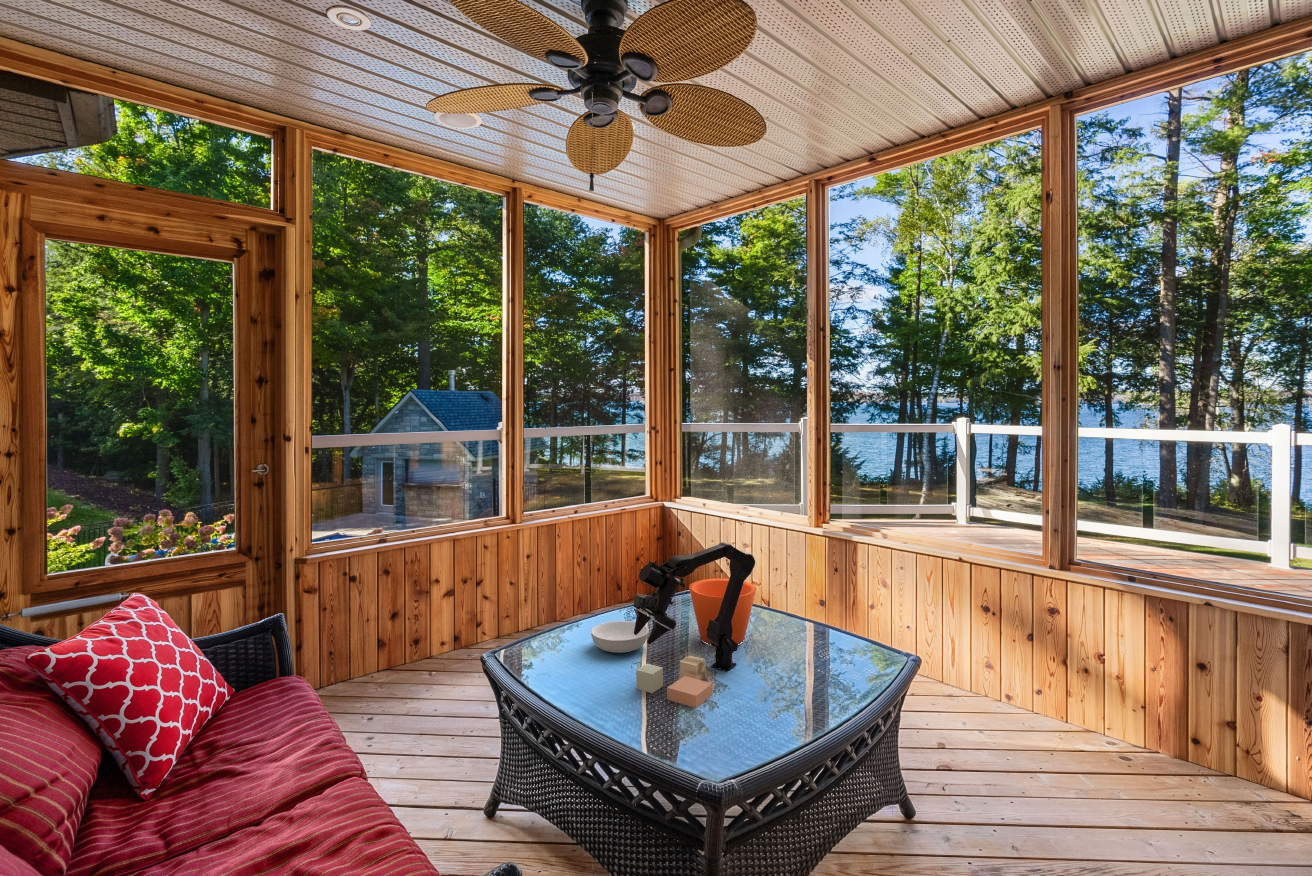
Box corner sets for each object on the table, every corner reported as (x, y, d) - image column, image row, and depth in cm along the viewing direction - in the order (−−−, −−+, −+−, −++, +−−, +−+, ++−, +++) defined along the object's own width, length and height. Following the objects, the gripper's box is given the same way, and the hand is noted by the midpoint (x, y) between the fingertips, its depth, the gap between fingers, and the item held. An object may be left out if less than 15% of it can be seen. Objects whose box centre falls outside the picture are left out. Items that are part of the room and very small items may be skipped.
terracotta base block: (684, 688, 203) (684, 675, 202) (712, 696, 197) (712, 683, 197) (667, 700, 194) (667, 687, 194) (696, 709, 189) (696, 695, 189)
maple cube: (689, 673, 213) (689, 655, 213) (705, 677, 210) (705, 659, 210) (679, 679, 208) (679, 661, 208) (696, 684, 205) (696, 665, 205)
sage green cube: (647, 681, 207) (647, 663, 206) (662, 686, 203) (662, 667, 203) (636, 688, 202) (636, 669, 201) (652, 693, 198) (652, 674, 198)
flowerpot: (691, 626, 258) (691, 577, 257) (755, 629, 254) (755, 579, 253) (686, 650, 233) (686, 595, 232) (756, 653, 229) (756, 598, 228)
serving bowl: (659, 644, 238) (659, 626, 238) (626, 664, 221) (626, 644, 220) (613, 634, 249) (613, 616, 249) (579, 651, 232) (579, 632, 231)
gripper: (632, 576, 211) (609, 620, 208) (659, 591, 195) (635, 639, 191) (657, 590, 216) (635, 633, 213) (686, 605, 199) (663, 652, 196)
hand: (641, 639), depth 203 cm, fingers open, 9 cm apart
